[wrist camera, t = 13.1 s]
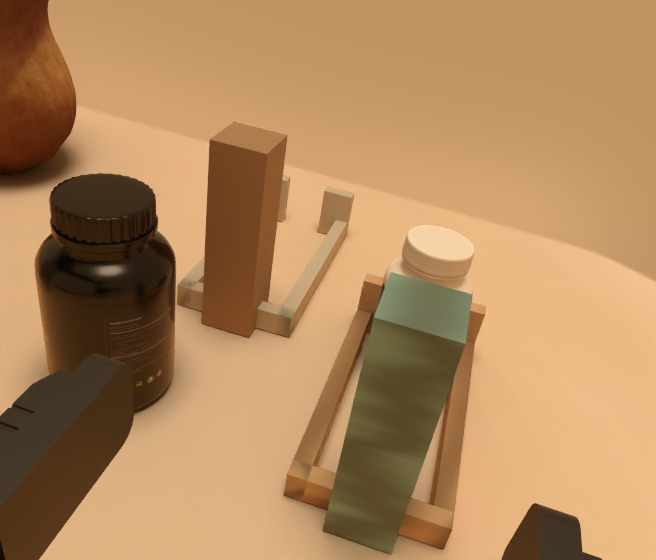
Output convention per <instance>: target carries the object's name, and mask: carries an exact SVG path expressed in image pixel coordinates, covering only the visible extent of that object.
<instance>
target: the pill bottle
mask: <svg viewBox="0 0 656 560" xmlns="http://www.w3.org/2000/svg"><path fill="white" fill-rule="evenodd" d="M474 251H475V250H474V246H473V244H472V243H471V242H470V241H469V240H468V239H467V238H466V237H464V236H463V235H461V234H459V233H457V232H455V231H453V230H450V229H447V228H444V227H439V226H431V225H423V226H417V227H414V228H412V229H411V230H410V231H409V232H408V233H407V236H406V240H405V243H404V246H403V250H402V256H401V257H399V258H397V259H395V260H394V261H393V262H391V263H390V265H389V266H388V268H387V270H386V272H385V276H384V280H383V284H382V288H381V293H380V297H379V301H378V305H379V302H380V300H381V297H382V294H383V292H384V289H385V286H386V284H387V281H388V278H389V276H390V273H391V272H393V273H397V274H400V275H404V276H408V277H411V278H415V279H419V280H422V281H426V282H429V283H433V284H437V285H440V286H444V287H447V288H451V289H455V290H458V291H462V292H465V293H469V294H473V288H472V284H471V281H470V279H469V277H468V276H467V275H466V274H467V273H468V270H469V269H470V266H471V262H472V259H473V256H474ZM378 305H377V308H378ZM376 310H377V309H376Z"/></svg>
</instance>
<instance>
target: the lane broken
mask: <svg viewBox="0 0 656 560" xmlns="http://www.w3.org/2000/svg"><path fill="white" fill-rule="evenodd" d="M286 142H287V135H284V134H280V133H276V132H272V131H268V130H264V129H260V128H256V127H252V126H248V125H244V124H240V123H236V122H233V123H232V124H231V125H229V126H228V127H227V128H225V129H224V130H222V131H221V132H219V133H218V134H217V135H215V136H214V137H213V138H211V139H210V147H209V170H208V192H207V215H206V237H205V256H204V258H203V259H202V260H201V261H200V262H199V263H198V264H197V265H196V266H195V267H194V268H193V269H192V270H191V271H190V273H189V274H188V275H187V276H186V277H185V278H184V279H183V280H182V281H181V282H180V283H179V284H178V297H177V304H179V305H182V306H186V307H189V308H192V309H195V310H199V311H202V324H205V325H209V326H212V327H215V328H218V329H222V330H225V331H228V332H232V333H235V334H238V335H241V336H245V337H248V338H249V337H250V335H251V334H252V332H253V331H254V329H255V328H259V329H262V330H265V331H269V332H272V333H275V334H279V335H282V336H285V337H289V336H290V334H291V333H292V331H293V329H294V327H295V326H296V324H297V322H298V320H299V318H300V317H301V315H302V313H303V311H304V309H305V308H306V306H307V304H308V302H309V300H310V299H311V297H312V295H313V293H314V292H315V290H316V288H317V286H318V284H319V283H320V281H321V279H322V277H323V275H324V274H325V272H326V270H327V268H328V266H329V265H330V263H331V261H332V259H333V257H334V256H335V254H336V252H337V250H338V249H339V247H340V245H341V243H342V241H343V240H344V238H345V236H346V234H347V230H348V224H349V219H350V214H351V209H352V203H353V198H354V193H351V192H347V191H343V190H339V189H336V188H332V187H327V188H326V189H325V191H324V197H323V203H322V209H321V216H320V222H319V228H318V232H320V233H324V234H327V235H326V237H325V238H324V240H323V242H322V243H321V245H320V246H319V248H318V250H317V251H316V253H315V254H314V256H313V258H312V259H311V261H310V263H309V264H308V266H307V267H306V269H305V271H304V272H303V274H302V275H301V277H300V279H299V280H298V282H297V284H296V285H295V287H294V288H293V290H292V292H291V293H290V295H289V296H288V298H287V300H286V301H285V303H284V305H283V306H279V305H275V304H272V303H269V302H268V296H269V288H270V279H271V271H272V262H273V254H274V245H275V237H276V228H277V221H280V222H282V221H283V220H284V218H285V216H286V208H287V200H288V192H289V184H290V177H289V176H285V175H283V169H284V159H285V152H286Z"/></svg>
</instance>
